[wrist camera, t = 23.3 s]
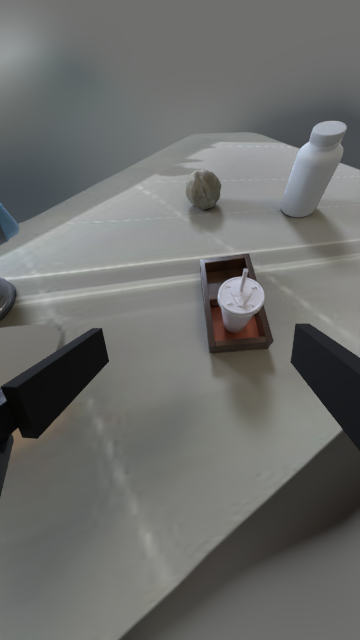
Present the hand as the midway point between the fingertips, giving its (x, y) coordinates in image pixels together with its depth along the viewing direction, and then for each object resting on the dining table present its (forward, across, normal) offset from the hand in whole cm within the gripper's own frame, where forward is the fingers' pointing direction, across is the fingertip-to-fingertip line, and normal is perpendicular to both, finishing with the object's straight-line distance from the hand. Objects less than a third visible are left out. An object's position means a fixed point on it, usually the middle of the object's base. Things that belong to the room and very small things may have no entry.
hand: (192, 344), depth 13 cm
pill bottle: (+45, +24, +15) cm, 53 cm away
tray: (+26, +5, -4) cm, 27 cm away
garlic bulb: (+50, 0, +19) cm, 53 cm away
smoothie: (+22, +6, -7) cm, 24 cm away
